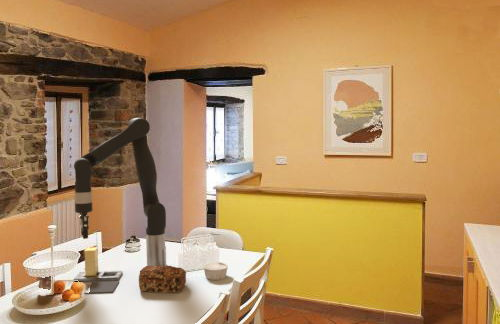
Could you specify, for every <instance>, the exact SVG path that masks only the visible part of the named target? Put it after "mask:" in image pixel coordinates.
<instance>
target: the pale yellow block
mask: <svg viewBox="0 0 500 324" xmlns="http://www.w3.org/2000/svg"><path fill="white" fill-rule="evenodd" d="M98 253H99V250H98V247H97V246H95V247H87V248H85V249H84V269H85V271H84V272H85V273H86V277H98V275H99V272H98V271H99V254H98Z"/></svg>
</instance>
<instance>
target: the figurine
mask: <svg viewBox="0 0 500 324" xmlns="http://www.w3.org/2000/svg"><path fill="white" fill-rule="evenodd" d="M54 278H55V275H54ZM54 282H55V280H54ZM55 283H56V282H55ZM38 287H39V288H43V289H48V290H50V289H51V276H49V277H45V278H40V277H39V281H38ZM38 287H37V288H38Z"/></svg>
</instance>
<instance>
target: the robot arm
mask: <svg viewBox="0 0 500 324" xmlns="http://www.w3.org/2000/svg"><path fill="white" fill-rule="evenodd" d="M150 129H151V125H150V123H149V121H148V120H147V119H145V118H142V117H134V118H131V119H130V120H129V122H128V124H127V127H126V129H124V130H123V131H121V132H119V133H118V134H117V135H115V136H113V137H111V138H109V139H108V140H105V141H104V142H102V143H100V144H99V145H98V146H96V147H95V148H93V149H92V150H91V151H89V152H88V153H85V154H84V155H82V156H81V157H79V158H78V159H76V160H75V161H74V164H73V168H74V174H75V181H74V212H75V213H76V214H79V216H78V219H79V225H80V229H81V230H80V232H81V233H80V235H81V236H82V239H83V240H85V239H86V240H87V239H88V238H89V229H90V228H89V226H90V216H89V215H88V213H92V212H93V210H94V209H93V193H92V168H94V167H95V166H97V165H98V164H101V163H103V162H104V161H106V160H107V159H109V158H110V157H111V156H112V155H114V154H115V153H117V152H119V151H120V150H121V149H122V148H124V147H126V146H127V145H129V144H131V143H132V148H133V157H134V163H135V168H136V169H135V170H136V176H137V178H138V183H139V187H140V190H141V193H142V194H141V195H142V204H143V205H142V206H143V213H144V216H146V217H147V219H146V221H147V225H146V228H145V245H146V248H145V249H146V266H150V265H152V266H158V265H159V266H162V265H164V266H167V246H166V227H167V216H166V215H167V212H166V208H165V205H164V204H163V203H160V202H161V201H160V200H159V197H158V192H157V191H158V190H157V182H158V180H157V177H158V176H157V175H158V173H157V169H156V168H157V167H156V162H155V159H154V156H153V155H152V152H151V149H150V147H149V144H148V139H147V135H148V134H149V132H150Z"/></svg>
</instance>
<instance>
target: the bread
mask: <svg viewBox="0 0 500 324" xmlns="http://www.w3.org/2000/svg"><path fill="white" fill-rule="evenodd" d="M186 282H187V271H186V270H185V269H184V268H182V267H179V266H178V267H176V266H172V265H166V266H164V265H162V266H159V265H158V266H152V265H150V266H147V265H146V266H144V267H142V268H141V270H139V273H138V287H139V291H140V292H148V293H149V292H150V293H161V294H162V293H165V294H167V293H176V294H179V293H181V292H182V291H183V289H184V288H185V287H186Z"/></svg>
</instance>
